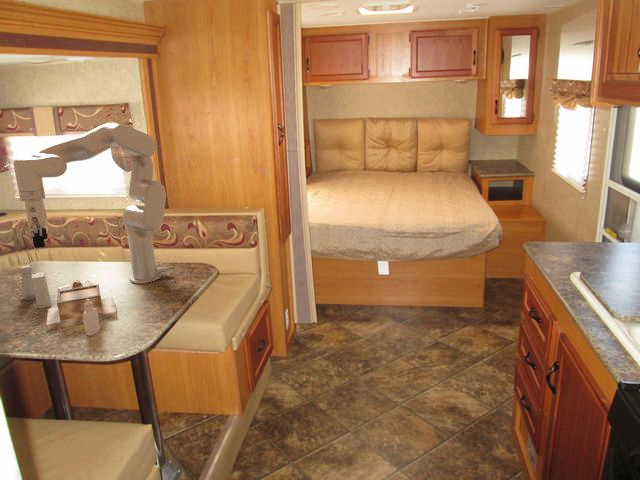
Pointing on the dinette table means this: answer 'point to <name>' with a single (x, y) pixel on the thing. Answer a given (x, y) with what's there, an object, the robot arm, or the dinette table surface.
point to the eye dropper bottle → (91, 319)
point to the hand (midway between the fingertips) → (41, 243)
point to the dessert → (76, 284)
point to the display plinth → (79, 320)
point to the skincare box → (41, 290)
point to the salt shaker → (27, 283)
